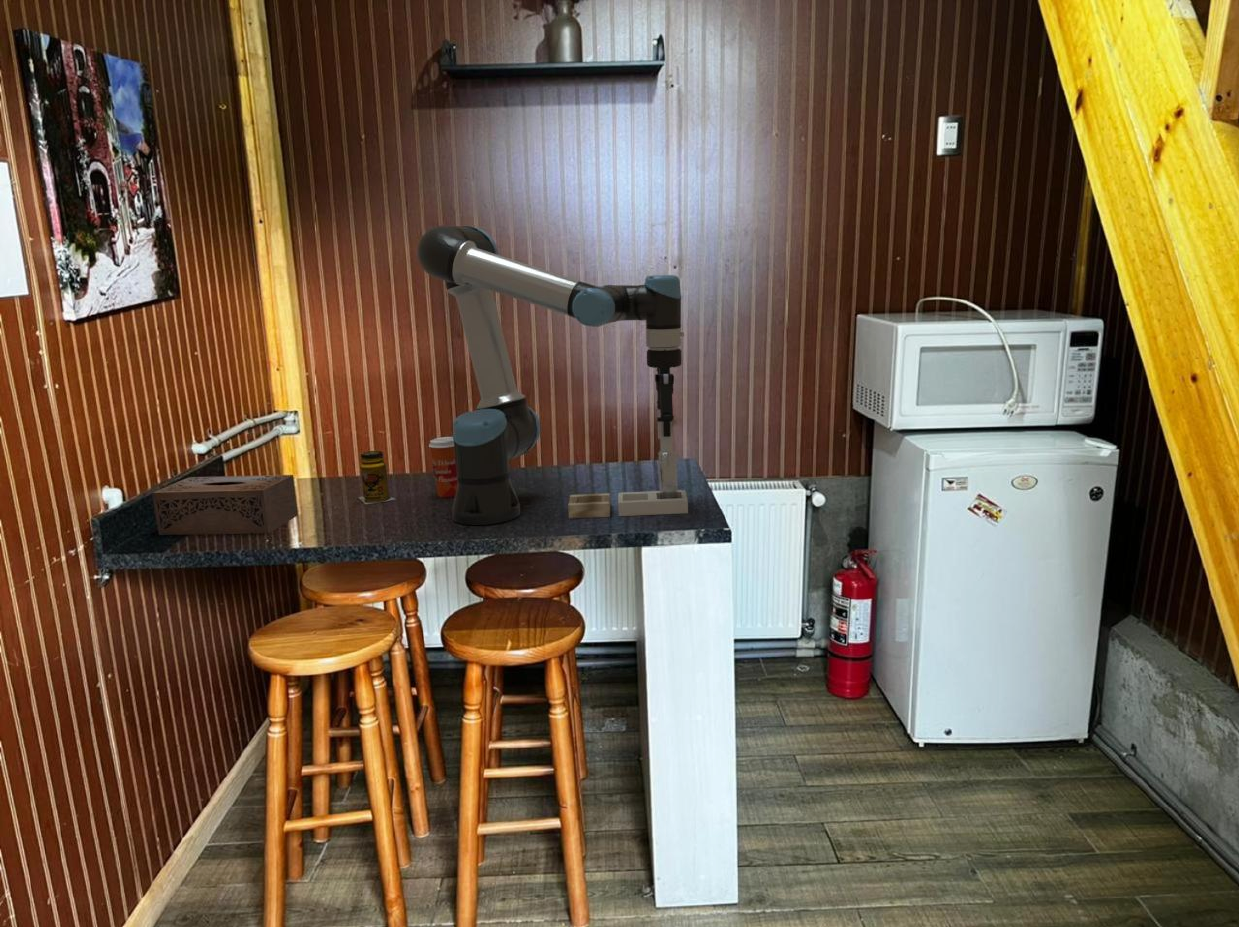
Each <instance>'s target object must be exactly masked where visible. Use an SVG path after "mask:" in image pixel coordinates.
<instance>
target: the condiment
mask: <svg viewBox="0 0 1239 927" xmlns="http://www.w3.org/2000/svg"><path fill="white" fill-rule="evenodd" d="M360 458H361V459H360V460H361V464H360V475H361V483H362V492H363V496H358V498H359V500H360V501H361V502H362V503H363V504H364V505H371V504H379V503H384V502H389V501H395V500H396V498H395V497H393V496H392V495H391V494H390V491H389V481H388V473H387V472H388V471H387V464H386V462H385V461H384V453H383V451H381V450H370V451H365V452H362V453H361V454H360Z"/></svg>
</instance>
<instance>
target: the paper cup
mask: <svg viewBox="0 0 1239 927" xmlns="http://www.w3.org/2000/svg"><path fill="white" fill-rule="evenodd" d="M428 447H429V448H430V454H431V461H432V468H433V474H434V479H435V480H434V481H435V486H436V493H437V497H439V498H453V497H454V498H455V495H456V491H457V487H458V480H457V470H456V459H455V449H454V440H453V436H444V437H443V436H442V437H437V438H434V439H431V440H429V444H428Z"/></svg>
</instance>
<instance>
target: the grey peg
mask: <svg viewBox="0 0 1239 927" xmlns="http://www.w3.org/2000/svg"><path fill="white" fill-rule="evenodd" d="M677 453H678V452H677V450H675V449H673V451H660V450H659V451H658V453H657V454H658V473H659V475H658V476H659V491H660V499H675V498H678V490H679V486H678V484H679V482H678V480H679V479H678V459H677V458H678V456H677V455H678V454H677Z"/></svg>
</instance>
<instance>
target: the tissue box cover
mask: <svg viewBox="0 0 1239 927" xmlns="http://www.w3.org/2000/svg"><path fill="white" fill-rule="evenodd" d="M295 487H296V486H295V480H294V475H293V474H277V475H276V474H275V475H274V474H272V475H270V474H268V475H267V474H266V475H233V476H232V475H231V476H230V475H229V476H224V475H223V476H189V477H187V478H183V479H182V480H179V481H175V482H174V483H172V484H169V485H167V486H165V487H163V488H160V489H157V490H155V491H153V492H151V496H152V501H153V502H152V503H153V507H154V513H155V519H156V520H155V521H156V525H157V531H158V536H173V535H177V536H178V535H179V536H180V535H181V536H183V535H186V536H187V535H188V536H189V535H235V534H237V535H239V534H241V535H242V534H243V535H245V534H250V533H253V534H270V533H271V532H273V531H275V530H277V529H278V528H280V527H282V526H283V525H285V524H287V523H288V522H290V521H291V520H292V519H294V518H296V517H298V516H299V511H298V510H299V509H298V503H297V496H296V488H295Z"/></svg>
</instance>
